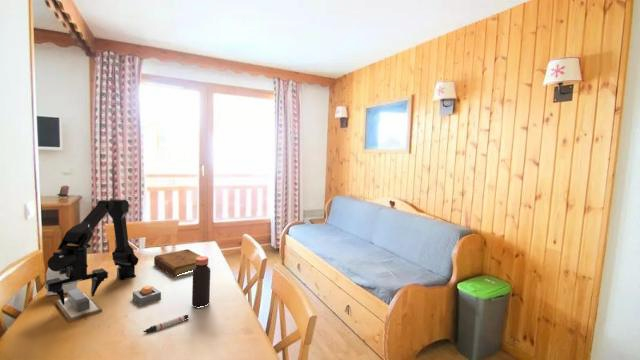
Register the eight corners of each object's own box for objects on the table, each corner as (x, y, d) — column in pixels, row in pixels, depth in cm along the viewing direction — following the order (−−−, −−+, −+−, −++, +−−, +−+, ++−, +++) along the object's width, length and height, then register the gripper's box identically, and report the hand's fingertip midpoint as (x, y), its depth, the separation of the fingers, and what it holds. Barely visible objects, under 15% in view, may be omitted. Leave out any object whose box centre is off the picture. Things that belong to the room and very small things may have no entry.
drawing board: (85, 294, 132) (85, 292, 132) (101, 311, 120) (101, 308, 120) (55, 302, 124) (55, 300, 124) (69, 321, 112) (69, 318, 112)
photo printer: (78, 288, 138) (77, 261, 137) (77, 292, 134) (76, 264, 133) (47, 292, 132) (47, 264, 131) (45, 297, 128) (45, 268, 127)
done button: (149, 290, 134) (149, 285, 134) (153, 293, 132) (154, 288, 132) (139, 293, 131) (139, 288, 131) (143, 296, 129) (143, 291, 129)
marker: (186, 318, 119) (186, 313, 119) (188, 320, 118) (188, 315, 118) (142, 333, 108) (142, 328, 108) (144, 336, 107) (144, 330, 106)
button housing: (152, 292, 137) (152, 286, 137) (160, 299, 132) (160, 292, 132) (132, 298, 131) (132, 292, 131) (140, 305, 126) (140, 298, 126)
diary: (154, 266, 169) (154, 255, 169) (187, 258, 184) (187, 249, 183) (173, 278, 155) (173, 267, 154) (208, 269, 169) (208, 259, 168)
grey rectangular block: (78, 296, 128) (78, 288, 127) (89, 308, 119) (89, 299, 119) (67, 299, 125) (67, 291, 125) (77, 312, 116) (77, 303, 116)
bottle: (190, 309, 125) (192, 261, 124) (193, 301, 132) (194, 255, 130) (208, 308, 127) (210, 260, 126) (209, 300, 134) (211, 255, 132)
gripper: (99, 251, 133) (99, 286, 134) (41, 262, 118) (41, 301, 119) (108, 258, 126) (108, 295, 127) (48, 270, 111) (49, 311, 113)
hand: (78, 300), depth 122 cm, fingers open, 9 cm apart
